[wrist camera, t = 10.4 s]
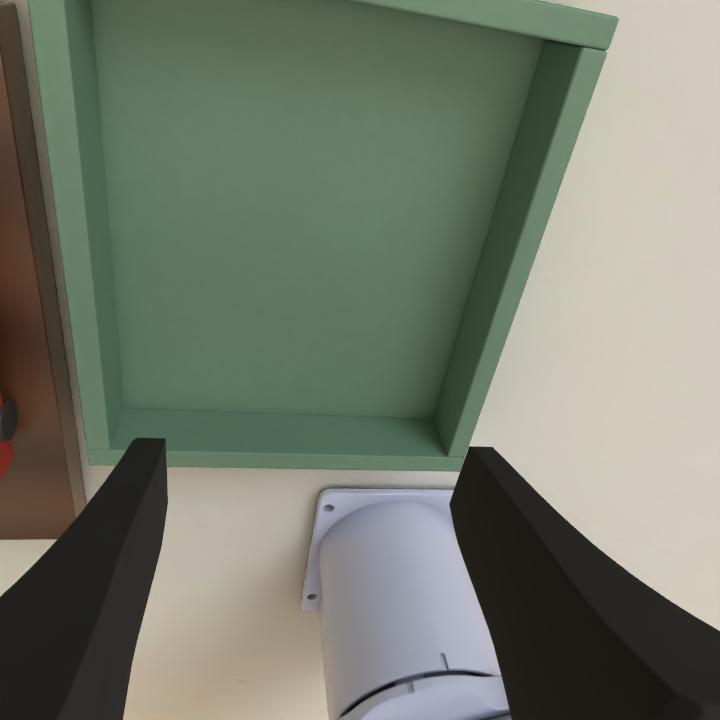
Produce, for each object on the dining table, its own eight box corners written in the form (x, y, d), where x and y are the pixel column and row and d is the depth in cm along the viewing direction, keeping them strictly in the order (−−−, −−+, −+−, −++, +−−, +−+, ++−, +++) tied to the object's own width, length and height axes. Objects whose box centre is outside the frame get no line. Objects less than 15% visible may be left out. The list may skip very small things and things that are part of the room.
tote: (442, 428, 26) (460, 472, 24) (106, 417, 23) (88, 465, 21) (572, 13, 17) (621, 17, 15) (53, -95, 14) (12, -110, 12)
